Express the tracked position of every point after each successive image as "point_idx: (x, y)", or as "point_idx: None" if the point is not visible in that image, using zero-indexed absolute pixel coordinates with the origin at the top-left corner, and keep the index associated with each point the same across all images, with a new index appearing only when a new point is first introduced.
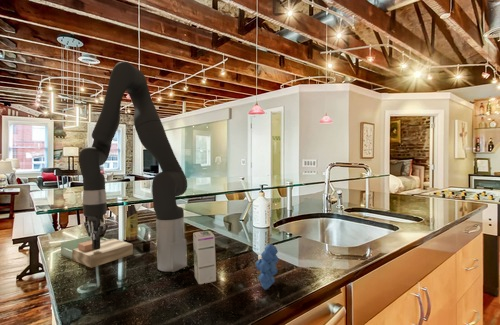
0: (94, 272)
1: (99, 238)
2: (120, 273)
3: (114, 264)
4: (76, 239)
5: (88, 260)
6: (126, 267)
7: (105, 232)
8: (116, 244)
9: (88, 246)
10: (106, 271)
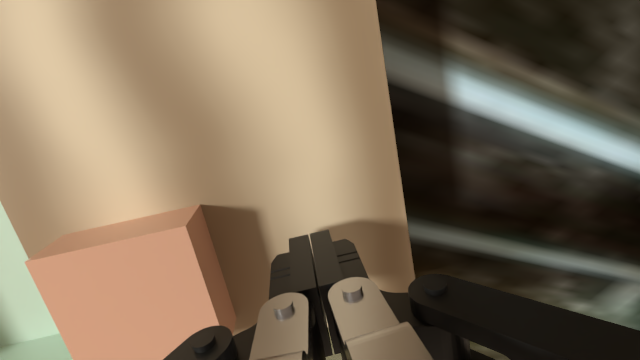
0: (480, 260)
1: (388, 302)
2: (625, 152)
3: (450, 130)
4: None
5: None
6: (571, 87)
7: (561, 309)
8: (220, 24)
9: (221, 312)
10: (524, 205)
